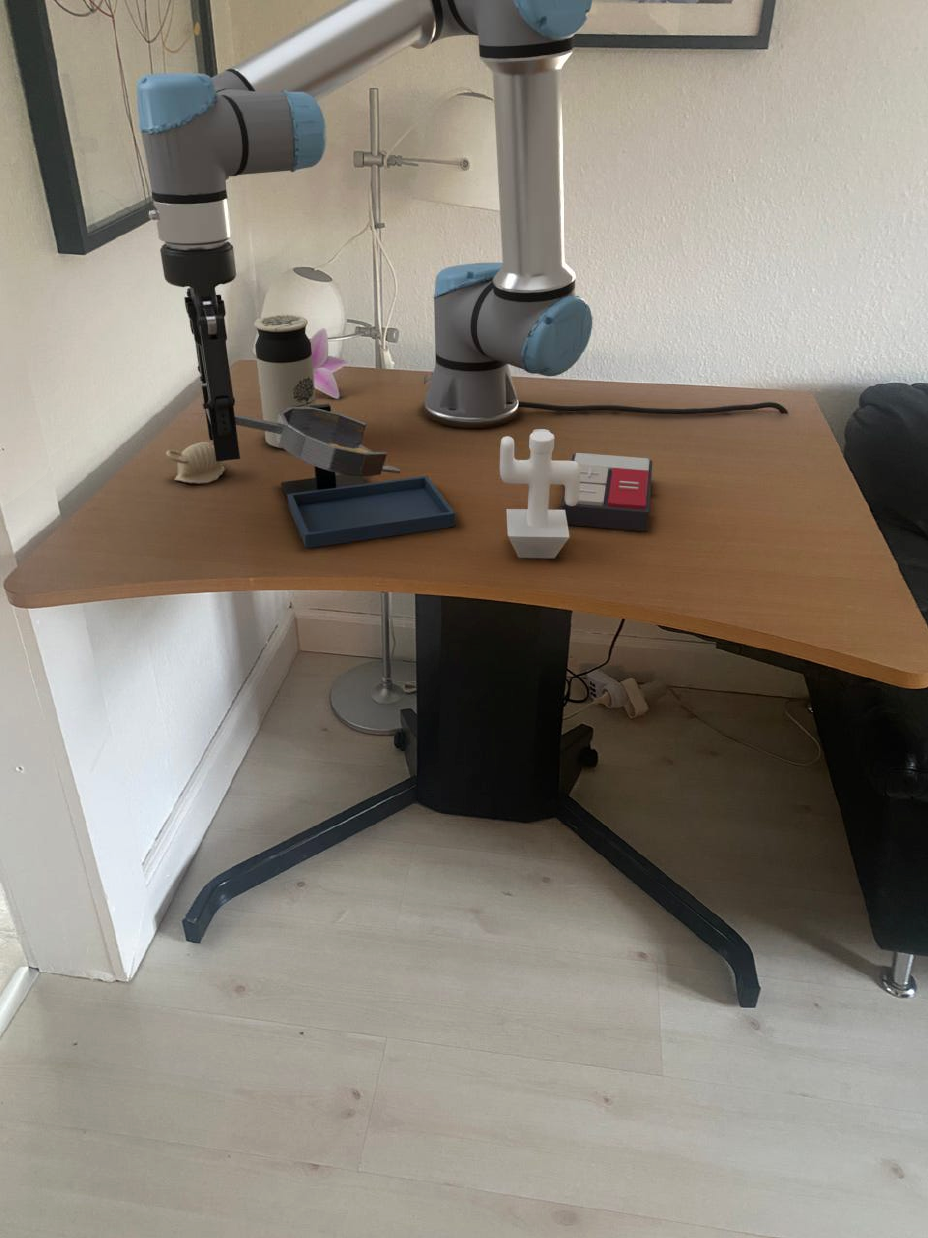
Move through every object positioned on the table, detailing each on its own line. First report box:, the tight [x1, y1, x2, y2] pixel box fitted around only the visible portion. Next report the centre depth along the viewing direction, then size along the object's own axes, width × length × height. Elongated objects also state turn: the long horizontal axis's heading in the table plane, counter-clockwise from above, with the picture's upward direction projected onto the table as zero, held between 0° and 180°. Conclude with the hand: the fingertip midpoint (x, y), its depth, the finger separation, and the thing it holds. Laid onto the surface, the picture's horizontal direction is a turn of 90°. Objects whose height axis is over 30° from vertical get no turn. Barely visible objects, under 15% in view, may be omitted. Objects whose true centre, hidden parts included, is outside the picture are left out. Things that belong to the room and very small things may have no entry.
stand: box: [280, 403, 367, 503], centre depth 127 cm, size 11×5×12 cm, turn 109°
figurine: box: [499, 428, 580, 559], centre depth 113 cm, size 7×9×15 cm
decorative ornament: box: [165, 441, 226, 485], centre depth 132 cm, size 4×8×5 cm, turn 129°
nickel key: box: [381, 464, 401, 474], centre depth 117 cm, size 6×2×1 cm, turn 122°
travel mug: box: [254, 314, 317, 449], centre depth 141 cm, size 8×8×18 cm
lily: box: [309, 327, 348, 400], centre depth 162 cm, size 12×12×10 cm
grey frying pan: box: [205, 401, 388, 478], centre depth 115 cm, size 22×15×3 cm, turn 108°
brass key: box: [329, 443, 368, 453], centre depth 119 cm, size 6×2×1 cm, turn 113°
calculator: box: [560, 452, 653, 533], centre depth 127 cm, size 11×4×15 cm
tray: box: [287, 475, 456, 549], centre depth 123 cm, size 19×12×2 cm, turn 109°
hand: (224, 447), depth 113 cm, fingers closed on grey frying pan, 6 cm apart
